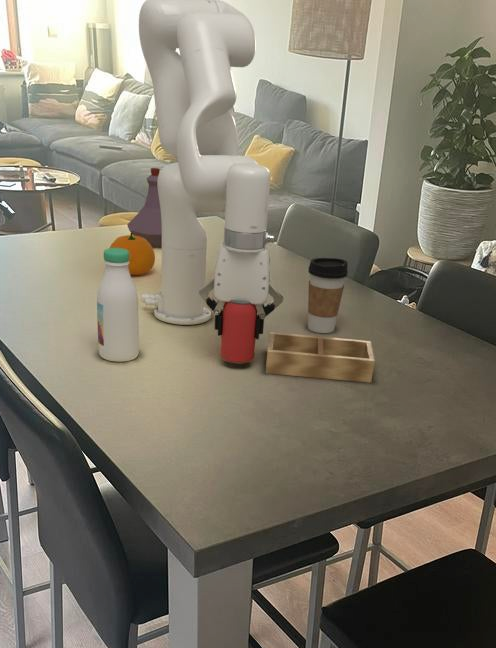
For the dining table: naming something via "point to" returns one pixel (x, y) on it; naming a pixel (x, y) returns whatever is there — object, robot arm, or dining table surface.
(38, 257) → the dining table surface
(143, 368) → the dining table surface
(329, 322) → the coffee cup
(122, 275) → the milk bottle
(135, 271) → the fruit
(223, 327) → the beer can
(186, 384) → the dining table surface
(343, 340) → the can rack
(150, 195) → the flask
